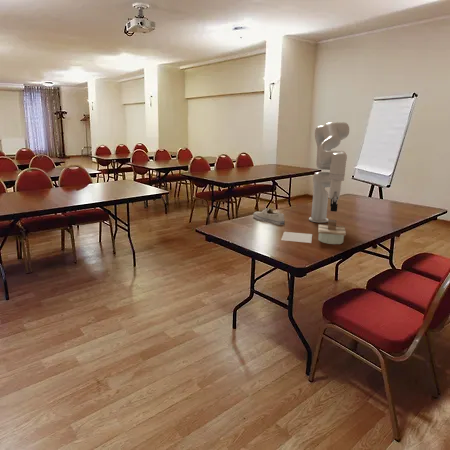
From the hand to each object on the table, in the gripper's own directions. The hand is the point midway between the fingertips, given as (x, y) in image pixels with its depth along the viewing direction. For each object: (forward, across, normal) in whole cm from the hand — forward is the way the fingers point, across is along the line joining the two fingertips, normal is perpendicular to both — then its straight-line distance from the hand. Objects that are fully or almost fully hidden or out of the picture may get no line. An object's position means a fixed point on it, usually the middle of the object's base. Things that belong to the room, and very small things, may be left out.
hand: (333, 208), depth 197 cm
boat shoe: (+20, -31, -38) cm, 53 cm away
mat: (+18, +1, -18) cm, 25 cm away
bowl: (+18, +1, 0) cm, 18 cm away
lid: (+12, +1, 0) cm, 12 cm away
